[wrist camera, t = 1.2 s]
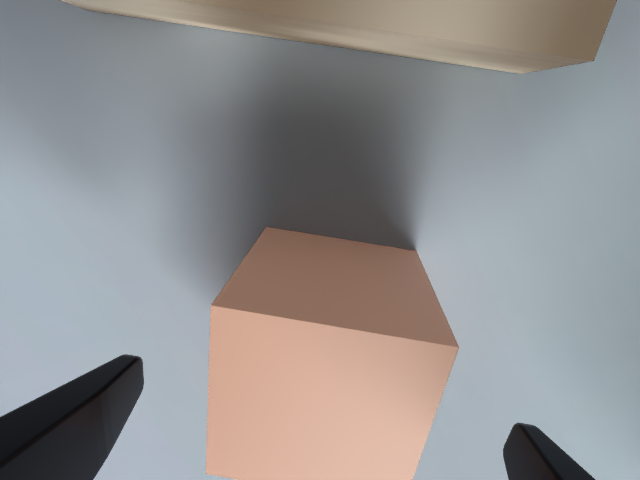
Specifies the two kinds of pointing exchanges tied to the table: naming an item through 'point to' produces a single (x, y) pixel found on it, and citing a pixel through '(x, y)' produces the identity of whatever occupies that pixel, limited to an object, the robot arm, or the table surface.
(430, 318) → the terracotta cube
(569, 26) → the maple base
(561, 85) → the table surface
